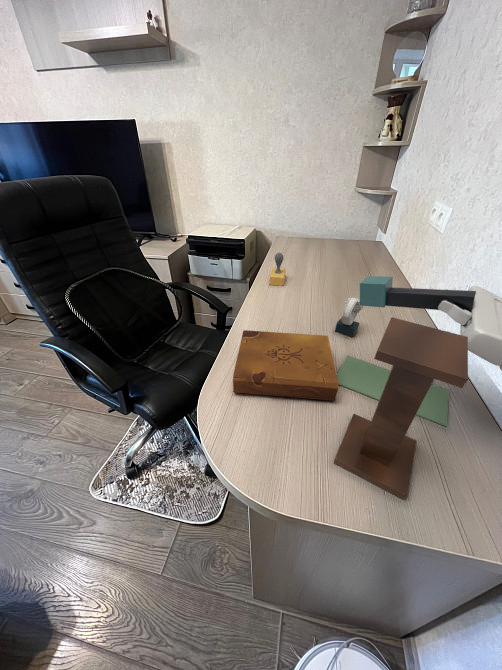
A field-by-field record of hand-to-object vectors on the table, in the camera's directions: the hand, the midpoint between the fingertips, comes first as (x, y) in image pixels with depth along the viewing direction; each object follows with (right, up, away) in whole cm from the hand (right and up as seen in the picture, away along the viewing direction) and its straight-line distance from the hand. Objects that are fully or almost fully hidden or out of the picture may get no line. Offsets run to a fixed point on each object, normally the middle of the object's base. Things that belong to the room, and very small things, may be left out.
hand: (441, 298), depth 51 cm
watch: (-6, -6, +35) cm, 36 cm away
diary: (-27, -16, +20) cm, 37 cm away
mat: (-2, -19, +15) cm, 25 cm away
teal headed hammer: (-3, -1, +4) cm, 5 cm away
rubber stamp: (-24, +16, +66) cm, 72 cm away
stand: (-12, -29, +1) cm, 32 cm away
